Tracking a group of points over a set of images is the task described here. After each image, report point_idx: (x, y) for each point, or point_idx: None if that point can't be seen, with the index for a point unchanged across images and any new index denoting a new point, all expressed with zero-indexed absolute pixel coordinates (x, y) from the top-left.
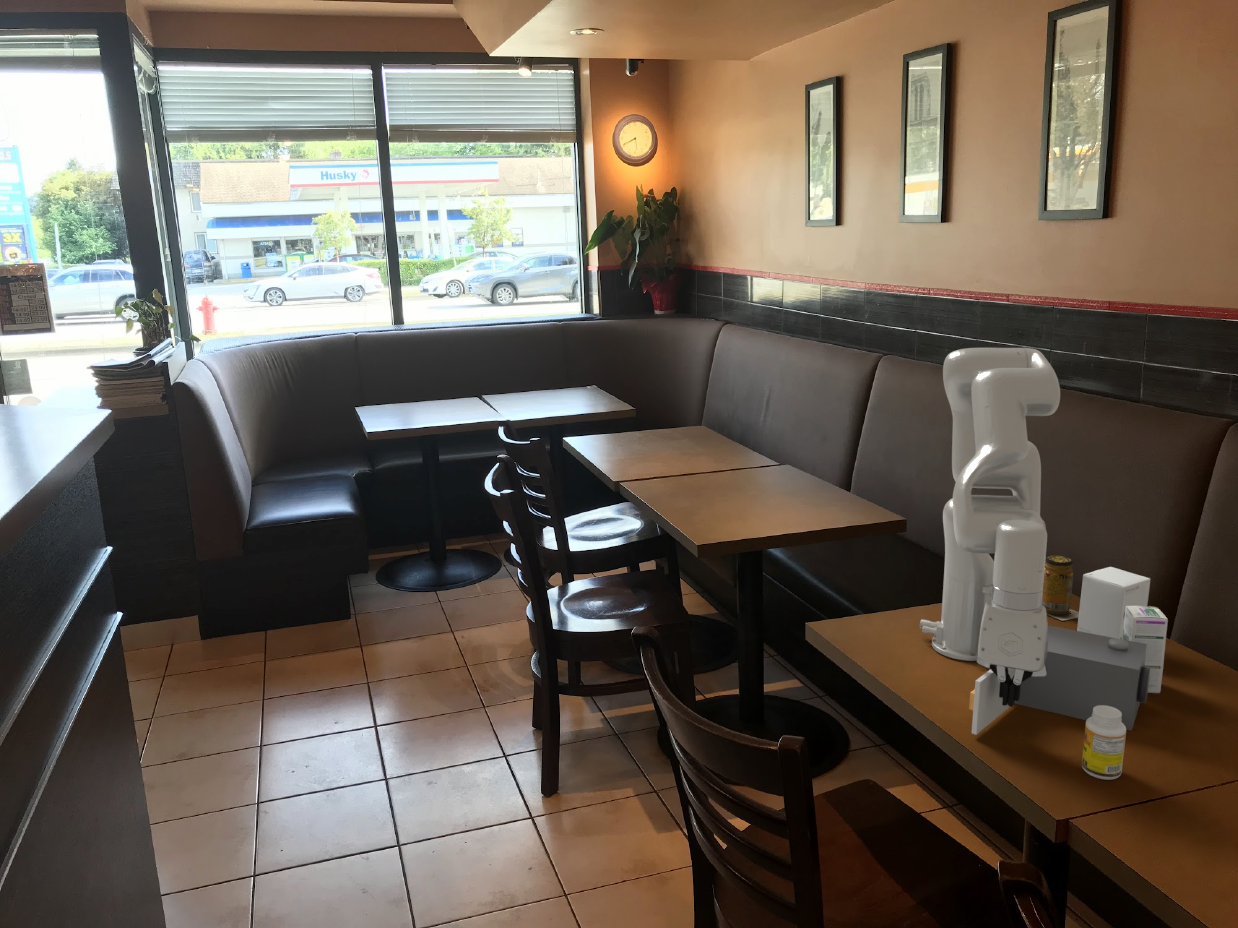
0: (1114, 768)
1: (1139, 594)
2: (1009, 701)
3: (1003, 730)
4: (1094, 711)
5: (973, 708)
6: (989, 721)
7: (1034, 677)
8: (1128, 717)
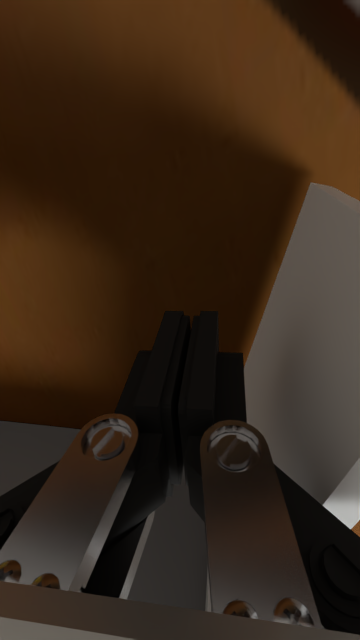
0: None
1: None
2: (178, 323)
3: (219, 298)
4: None
5: None
6: (269, 302)
7: (162, 529)
8: None
